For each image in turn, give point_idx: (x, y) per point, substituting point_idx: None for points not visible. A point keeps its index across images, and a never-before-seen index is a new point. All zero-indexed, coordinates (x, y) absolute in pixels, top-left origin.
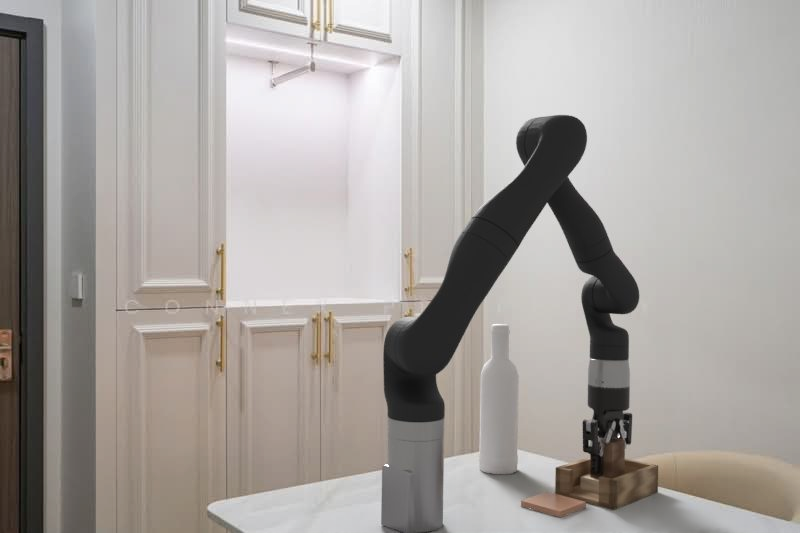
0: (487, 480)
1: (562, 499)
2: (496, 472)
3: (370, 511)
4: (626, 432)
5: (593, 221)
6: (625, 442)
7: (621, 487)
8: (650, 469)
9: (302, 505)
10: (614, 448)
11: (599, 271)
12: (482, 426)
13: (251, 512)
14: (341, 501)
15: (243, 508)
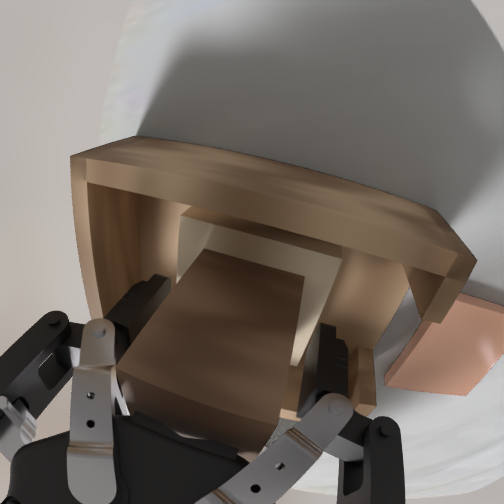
0: None
1: (442, 347)
2: (265, 448)
3: (493, 455)
4: (38, 365)
5: None
6: (84, 340)
7: (413, 222)
8: (129, 163)
9: (475, 478)
10: (259, 387)
11: None
12: None
13: (493, 478)
14: (462, 475)
15: (484, 483)
